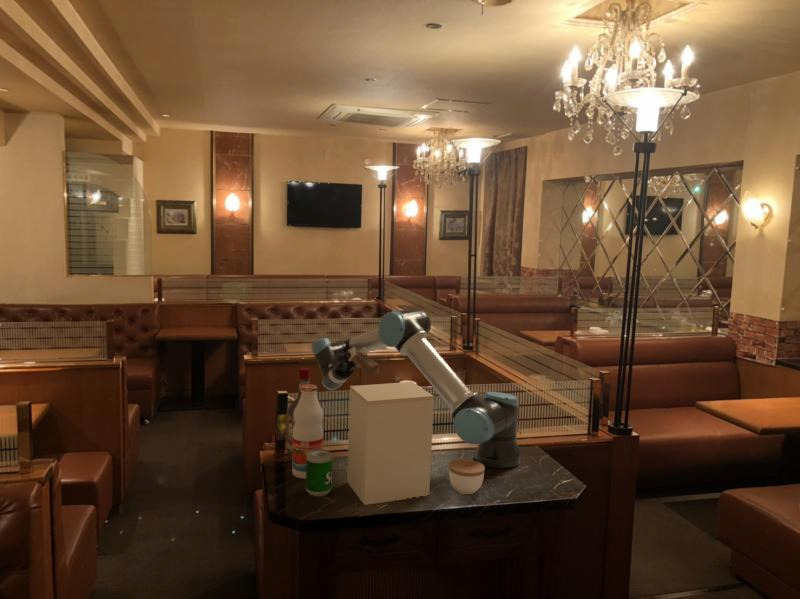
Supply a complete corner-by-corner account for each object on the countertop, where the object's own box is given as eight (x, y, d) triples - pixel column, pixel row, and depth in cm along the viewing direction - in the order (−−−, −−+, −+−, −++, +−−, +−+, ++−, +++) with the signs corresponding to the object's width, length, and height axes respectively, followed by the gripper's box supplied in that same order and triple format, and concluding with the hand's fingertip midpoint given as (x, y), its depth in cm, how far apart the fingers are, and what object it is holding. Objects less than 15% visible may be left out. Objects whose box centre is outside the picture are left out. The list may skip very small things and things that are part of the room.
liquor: (309, 449, 213) (311, 364, 209) (321, 458, 206) (323, 370, 202) (284, 454, 208) (286, 367, 204) (295, 463, 201) (297, 373, 197)
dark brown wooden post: (355, 357, 216) (355, 349, 215) (379, 374, 194) (379, 364, 193) (347, 357, 215) (347, 349, 214) (370, 374, 193) (370, 365, 192)
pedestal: (407, 474, 195) (411, 381, 192) (429, 495, 181) (433, 396, 177) (347, 482, 188) (350, 386, 184) (364, 505, 173) (367, 401, 169)
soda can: (320, 500, 175) (321, 459, 174) (300, 493, 179) (301, 453, 178) (336, 490, 182) (337, 451, 180) (316, 484, 186) (317, 445, 184)
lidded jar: (482, 484, 190) (484, 455, 189) (484, 499, 180) (485, 468, 178) (447, 481, 191) (449, 452, 190) (447, 496, 181) (448, 466, 179)
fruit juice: (325, 468, 197) (327, 383, 194) (317, 480, 188) (319, 391, 184) (297, 466, 199) (298, 381, 195) (287, 477, 189) (289, 389, 186)
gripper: (363, 379, 229) (384, 360, 208) (321, 382, 222) (338, 363, 202) (360, 359, 231) (380, 339, 211) (318, 362, 225) (335, 341, 205)
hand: (359, 351), depth 207 cm, fingers closed on dark brown wooden post, 3 cm apart
